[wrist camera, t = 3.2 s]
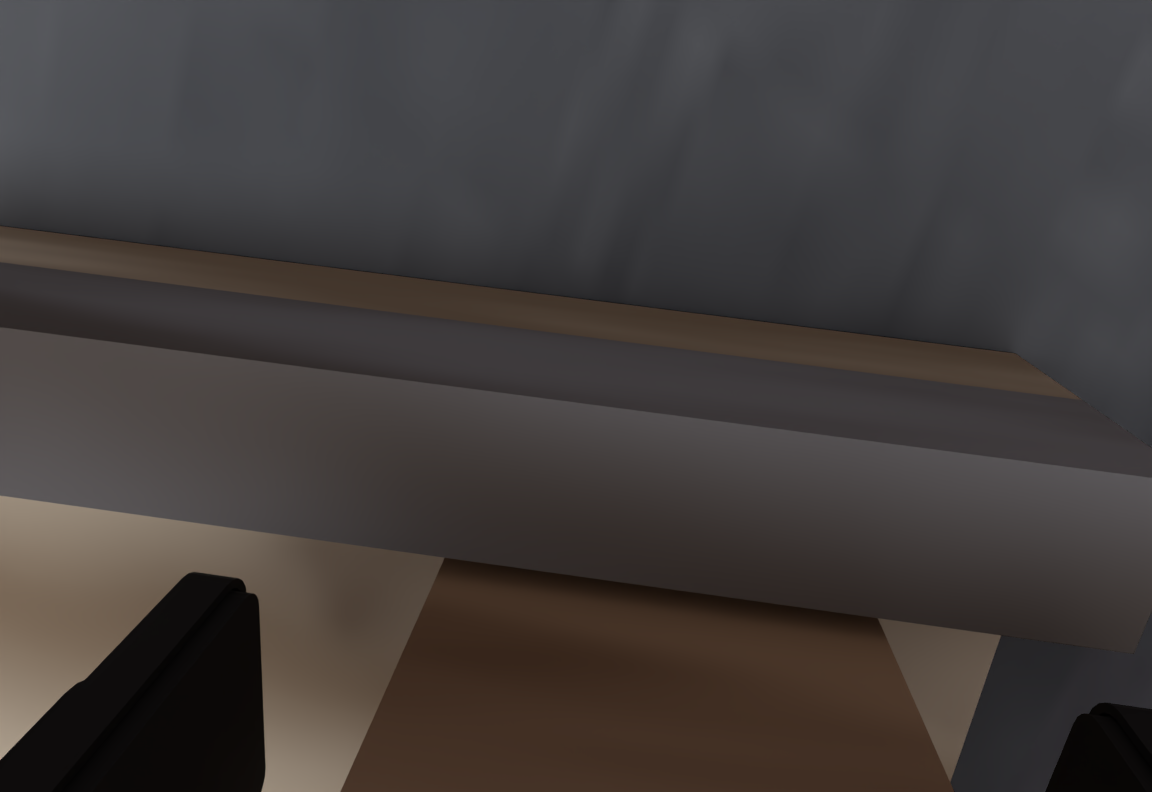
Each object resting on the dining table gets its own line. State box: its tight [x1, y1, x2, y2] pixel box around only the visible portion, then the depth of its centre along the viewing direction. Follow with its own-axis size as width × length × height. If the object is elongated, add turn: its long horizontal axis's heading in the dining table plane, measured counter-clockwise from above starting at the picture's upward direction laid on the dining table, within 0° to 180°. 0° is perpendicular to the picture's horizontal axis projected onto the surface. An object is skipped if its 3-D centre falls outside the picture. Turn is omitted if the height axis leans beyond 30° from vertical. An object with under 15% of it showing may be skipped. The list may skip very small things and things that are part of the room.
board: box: [0, 226, 1152, 792], centre depth 13 cm, size 13×28×4 cm, turn 84°
